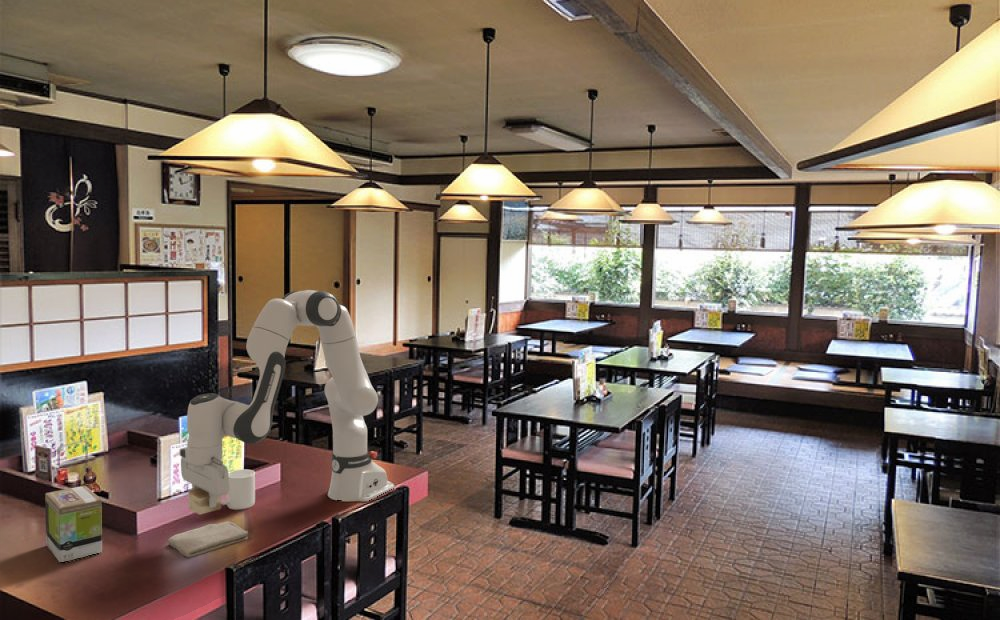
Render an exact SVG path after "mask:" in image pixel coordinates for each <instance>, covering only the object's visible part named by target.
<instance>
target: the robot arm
mask: <svg viewBox="0 0 1000 620" xmlns="http://www.w3.org/2000/svg"><path fill="white" fill-rule="evenodd" d="M297 326H303V327H316V328H317V330H318V332H319V337H320V343H321V347H322V351H323V357H324V362H325V366H326V368H327V369H328V371H329V372H330V374H331V377H330V378H328V380H327V381H326V383H325V386H324V395H325V397H326V401H327V404H328V410H329V415H330V420H331V426H332V452H331V462H330V463H331V478H330V479H331V480H330V484H329V488H328V493H327V496H328V498H330V500H334V501H337V500H342V501H341V502H369V500H370V501H371V499H372V500H374V499H375V498H377V496H378V497H379V495H380V496H381V494H382V495H384V494H386V493H388V492H390V491H392V490H394V489H395V485H394V483H393V482H391V481H389V480H388V475H387V472H386V470H385V469H384V468H383V467H381V466H380V465H379V464H377V463H375V462H374V461H372V458H373V459H376V458H377V456H378V452H377V451H373V450H371V451H370V450H368V427H367V424H366V423H365V418H364V416H368V415H371V413H373V412H374V411H375V410H376V408H377V406H378V403H379V396H378V393H377V392H376V390H375V389H374V387H373V385H372V383H371V380H370V377H369V375H368V373H367V371H366V368H365V365H364V363H363V361H362V357H361V354H360V349H359V345H358V340H357V334H356V331H355V327H354V323H353V321H352V317H351V315H350V313H349V310H348V308H347V307H346V306H344V305H342V304H340V303H339V301H338V300H337V298H336V296H334V295H333V294H331V292H328V291H324V290H313V289H305V290H295V291H290V292H288V293H286V294H285V295H284V296H282V298H272V299H270V300H268V301H267V302H266V304H265V305H264V307H263V308H262V310H261V311H260V312H259V314H258V316H257V318H256V320H255V321H254V323H253V326H252V327H251V330H250V332H249V333H248V337H247V340H246V346H245V347H246V348H245V349H246V351H247V354H248V357H250V360H252V361H253V362H254V363H255V364H256V365H257V367H258V369H259V379H258V382H257V385H256V389H255V391H254V395H253V398H252V400H251V403H250V404H245V403H243V402H240V401H235V400H230V399H226V398H224V397H222V396H220V395H219V394H217V393H212V392H211V393H210V392H209V393H203V394H200V395H196V396H195V397H193V398H192V399H191V400H190V402H189V404H188V407H187V415H186V416H187V417H186V429H187V433H188V440H187V443H186V446H185V447H182V448H179V450H178V451H179V456H180V471H181V473H180V474H181V477H182V479H183V480H184V481H186V482H187V483H189V484H191V488H192V490H193V489H197V488H201V489H203V490H205V491H207V492H209V496H210V499H209V500H208V506H209V507H211V508H212V507H215V506H216V500H217V498H218V496H221V497H222V496H224V495H227V493H228V492H229V475H228V473H229V470H228V467H227V466H226V465H224V462H223V438H224V437H227V436H228V437H231V438H234V439H237V440H239V441H240V442H243V443H244V444H247V445H256V444H258V443H260V442H262V441H263V440H265V438H266V437H267V436H268V435H269V434H270V432H271V428H272V426H273V419H274V418H273V416H274V409H275V406H276V402H277V399H278V395H279V393H280V389H281V386H282V381H283V378H284V375H285V371H286V363H287V362H286V358H285V355H286V351H287V347H288V344H289V342H290V340H291V337H292V334H293V332H294V330H295V329H296V328H297ZM393 488H394V489H393ZM391 489H392V490H391ZM389 490H390V491H389ZM387 491H388V492H387ZM385 492H386V493H385ZM383 493H384V494H383Z"/></svg>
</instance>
